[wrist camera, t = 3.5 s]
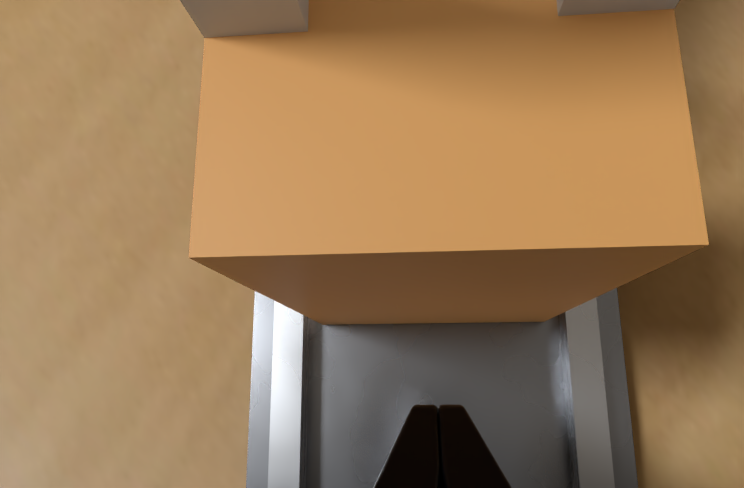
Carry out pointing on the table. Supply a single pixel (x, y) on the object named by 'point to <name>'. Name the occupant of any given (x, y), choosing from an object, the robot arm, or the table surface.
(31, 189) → the table surface
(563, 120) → the orange padlock
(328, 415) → the grey stand with block
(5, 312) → the table surface
